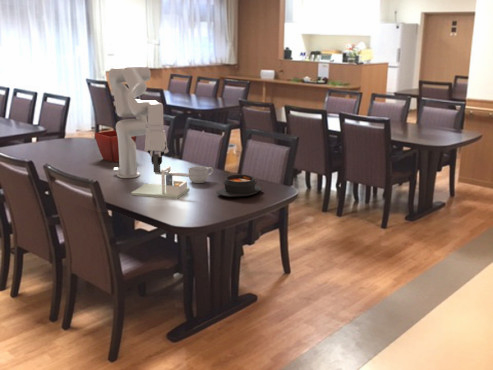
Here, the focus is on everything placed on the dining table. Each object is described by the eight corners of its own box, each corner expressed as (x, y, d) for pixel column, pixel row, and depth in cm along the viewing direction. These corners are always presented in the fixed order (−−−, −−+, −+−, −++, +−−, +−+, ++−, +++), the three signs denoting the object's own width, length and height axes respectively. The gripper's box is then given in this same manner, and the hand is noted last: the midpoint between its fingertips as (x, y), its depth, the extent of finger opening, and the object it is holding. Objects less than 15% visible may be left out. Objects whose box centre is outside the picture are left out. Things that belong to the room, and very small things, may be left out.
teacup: (190, 185, 302) (190, 170, 300) (186, 180, 312) (186, 165, 310) (215, 183, 305) (215, 169, 303) (211, 178, 315) (211, 164, 313)
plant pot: (95, 159, 357) (93, 132, 353) (121, 154, 370) (120, 129, 366) (111, 164, 344) (110, 137, 340) (138, 159, 357) (137, 133, 353)
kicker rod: (153, 189, 286) (152, 154, 281) (157, 186, 291) (156, 152, 286) (187, 192, 282) (187, 156, 277) (191, 189, 286) (190, 154, 282)
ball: (176, 193, 284) (170, 188, 284) (179, 191, 288) (173, 186, 288) (181, 188, 283) (175, 183, 283) (184, 186, 286) (178, 181, 286)
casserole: (246, 186, 302) (247, 170, 300) (270, 194, 288) (270, 178, 286) (208, 194, 287) (208, 177, 284) (231, 202, 273) (231, 186, 271)
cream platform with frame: (131, 194, 283) (130, 170, 279) (146, 185, 299) (145, 162, 296) (176, 199, 277) (176, 174, 274) (189, 189, 294) (189, 165, 290)
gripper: (137, 128, 278) (138, 164, 283) (168, 129, 274) (169, 166, 279) (143, 125, 285) (145, 161, 290) (173, 127, 281) (174, 163, 286)
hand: (156, 163), depth 285 cm, fingers closed on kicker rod, 2 cm apart
